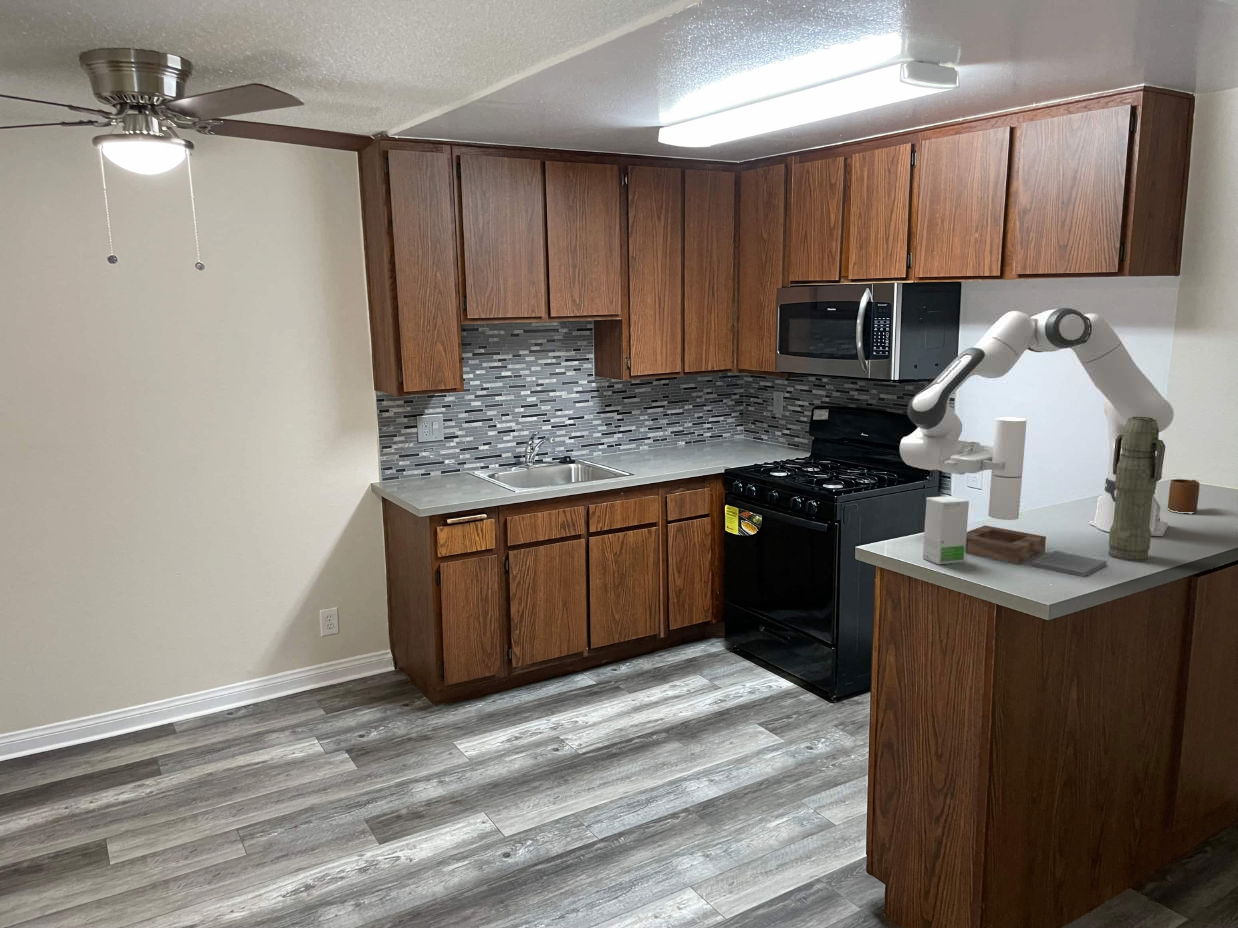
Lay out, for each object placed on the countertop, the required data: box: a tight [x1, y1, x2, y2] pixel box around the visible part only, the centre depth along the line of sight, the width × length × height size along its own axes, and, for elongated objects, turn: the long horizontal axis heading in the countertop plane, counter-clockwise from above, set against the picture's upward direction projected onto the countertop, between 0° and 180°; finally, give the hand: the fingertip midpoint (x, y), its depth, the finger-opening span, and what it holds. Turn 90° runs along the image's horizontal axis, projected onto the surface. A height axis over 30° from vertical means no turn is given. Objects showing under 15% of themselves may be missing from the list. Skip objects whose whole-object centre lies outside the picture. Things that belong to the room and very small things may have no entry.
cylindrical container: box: [987, 416, 1028, 521], centre depth 227 cm, size 7×7×25 cm
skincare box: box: [922, 495, 970, 565], centre depth 222 cm, size 8×7×16 cm
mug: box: [1167, 478, 1200, 513], centre depth 275 cm, size 12×8×9 cm, turn 126°
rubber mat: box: [1031, 550, 1107, 578], centre depth 219 cm, size 14×12×1 cm
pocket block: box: [965, 525, 1047, 565], centre depth 231 cm, size 16×16×4 cm
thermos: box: [1107, 417, 1166, 562], centre depth 224 cm, size 9×12×35 cm
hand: (1011, 464), depth 226 cm, fingers closed on cylindrical container, 7 cm apart
